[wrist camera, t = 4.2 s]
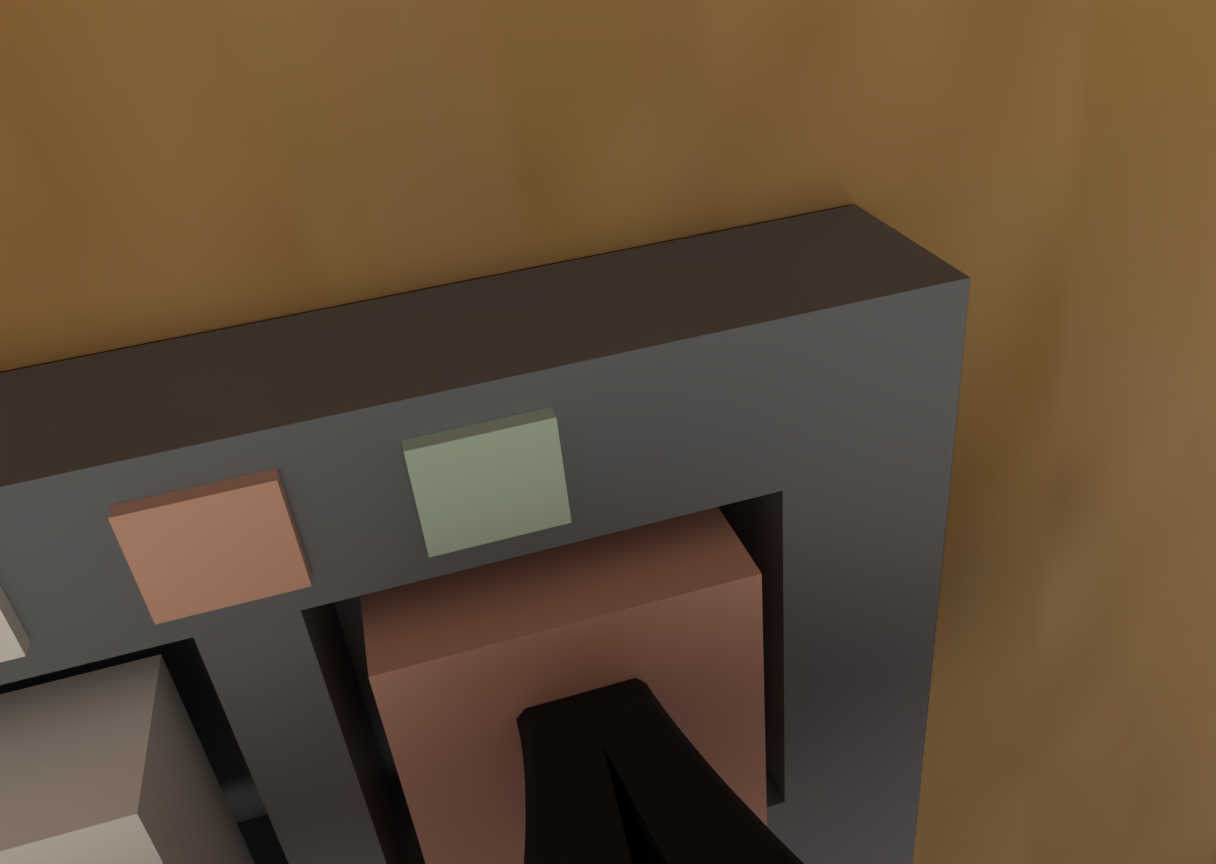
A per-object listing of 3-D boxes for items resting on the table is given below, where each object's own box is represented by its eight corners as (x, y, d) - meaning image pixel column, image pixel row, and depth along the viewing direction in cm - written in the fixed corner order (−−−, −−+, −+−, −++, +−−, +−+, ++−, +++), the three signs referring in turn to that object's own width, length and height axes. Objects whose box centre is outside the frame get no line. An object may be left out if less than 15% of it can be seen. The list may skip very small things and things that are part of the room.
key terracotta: (695, 471, 12) (762, 573, 10) (710, 708, 14) (767, 825, 12) (356, 553, 11) (368, 676, 10) (424, 790, 13) (445, 925, 12)
